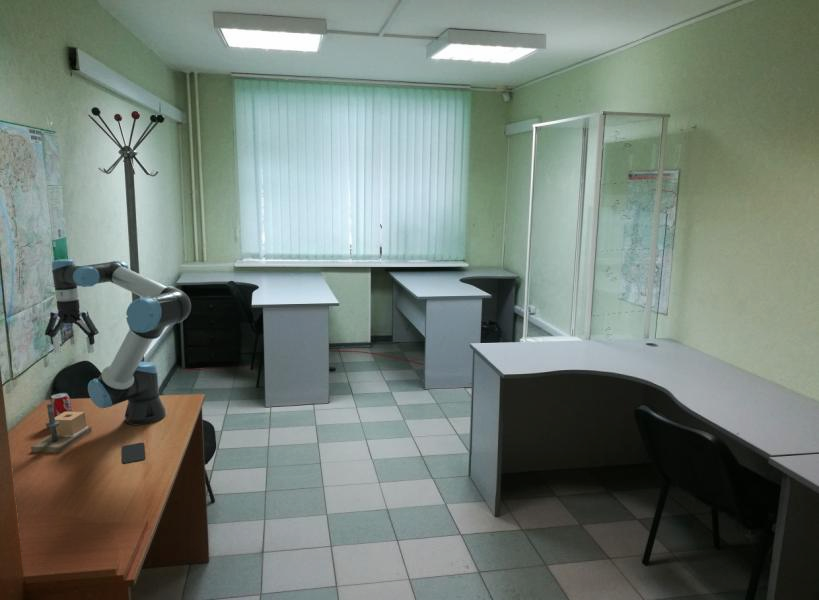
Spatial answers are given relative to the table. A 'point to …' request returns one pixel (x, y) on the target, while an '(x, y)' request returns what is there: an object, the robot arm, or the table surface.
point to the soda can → (61, 403)
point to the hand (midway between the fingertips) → (74, 352)
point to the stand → (57, 437)
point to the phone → (133, 453)
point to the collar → (70, 423)
